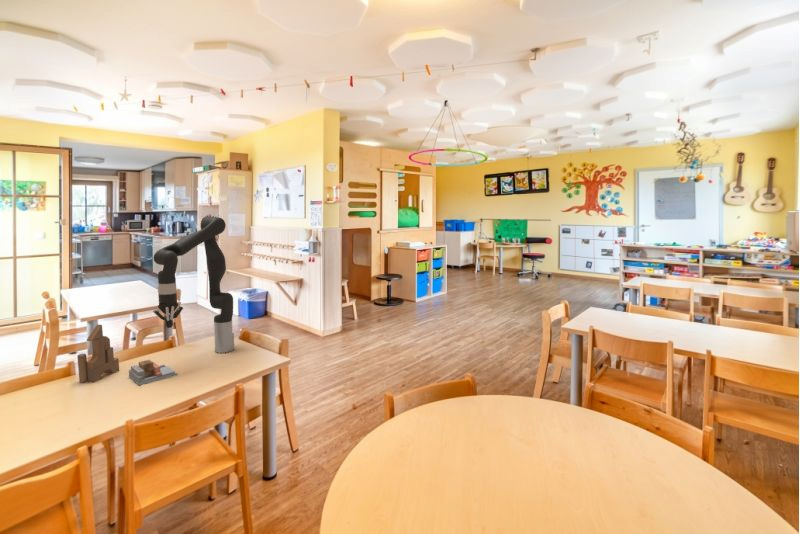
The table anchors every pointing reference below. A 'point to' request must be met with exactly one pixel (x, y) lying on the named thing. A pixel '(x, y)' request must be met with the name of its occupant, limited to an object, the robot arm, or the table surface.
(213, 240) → the robot arm
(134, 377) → the vise base
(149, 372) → the walnut block
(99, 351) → the wooden toy
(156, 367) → the bar
